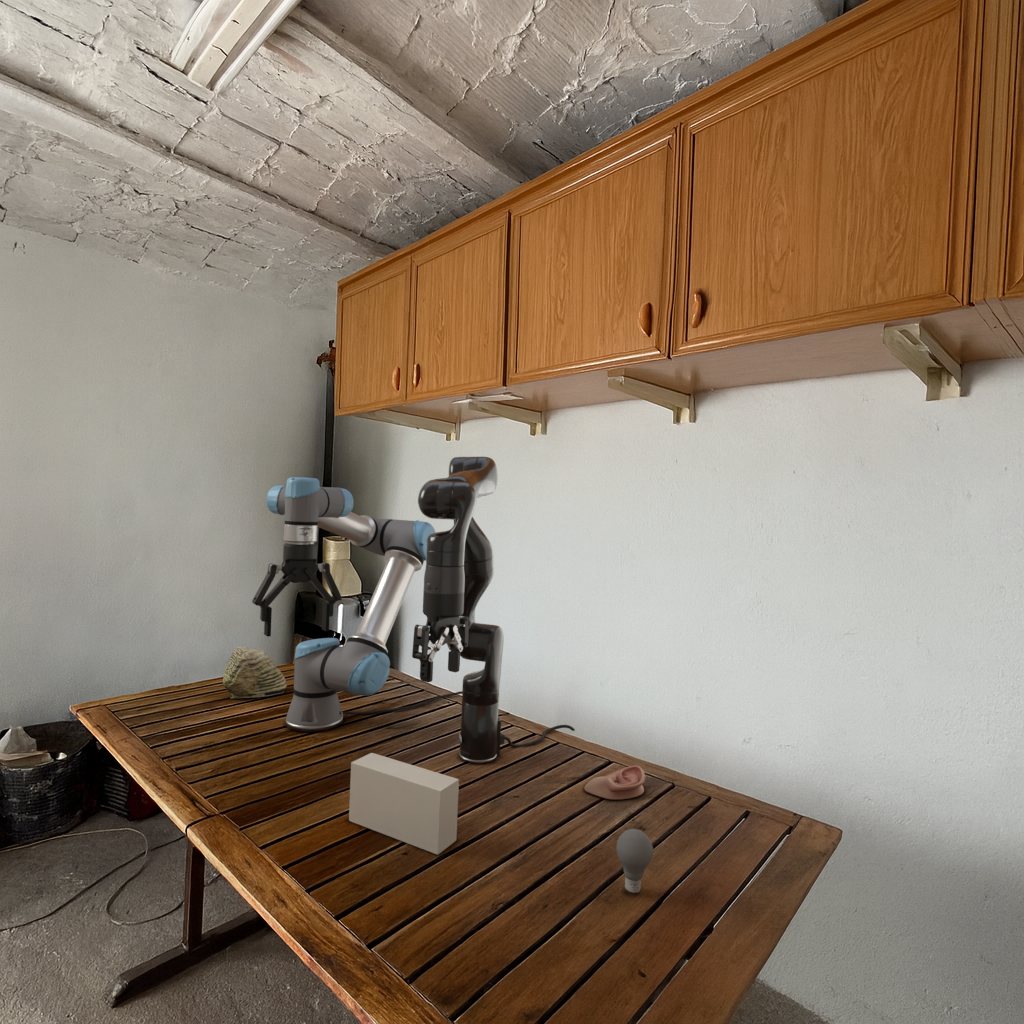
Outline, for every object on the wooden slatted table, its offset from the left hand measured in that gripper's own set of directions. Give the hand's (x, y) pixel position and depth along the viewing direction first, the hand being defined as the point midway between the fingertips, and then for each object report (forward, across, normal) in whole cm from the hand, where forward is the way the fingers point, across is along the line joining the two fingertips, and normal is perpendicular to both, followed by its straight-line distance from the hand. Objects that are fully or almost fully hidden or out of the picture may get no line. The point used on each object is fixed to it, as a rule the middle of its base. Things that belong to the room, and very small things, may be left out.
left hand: (297, 632), depth 149 cm
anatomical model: (+31, +57, -50) cm, 82 cm away
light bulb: (+31, +32, -79) cm, 90 cm away
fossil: (+31, +6, +56) cm, 64 cm away
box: (+31, +8, -41) cm, 52 cm away
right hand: (0, +11, -48) cm, 49 cm away
